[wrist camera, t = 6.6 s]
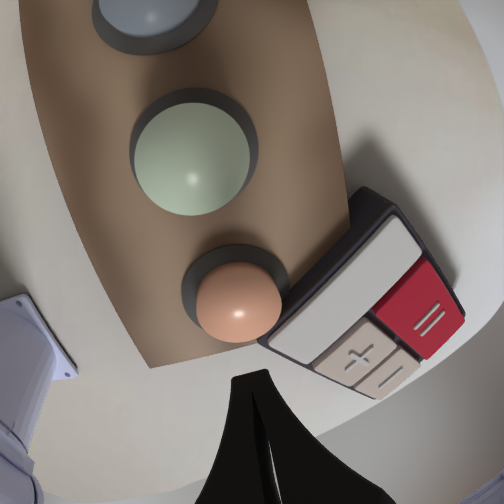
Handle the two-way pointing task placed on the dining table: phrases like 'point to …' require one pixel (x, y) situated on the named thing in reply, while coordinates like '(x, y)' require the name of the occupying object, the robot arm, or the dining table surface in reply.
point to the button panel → (154, 102)
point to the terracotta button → (237, 302)
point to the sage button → (192, 159)
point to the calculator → (368, 304)
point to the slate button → (147, 15)
